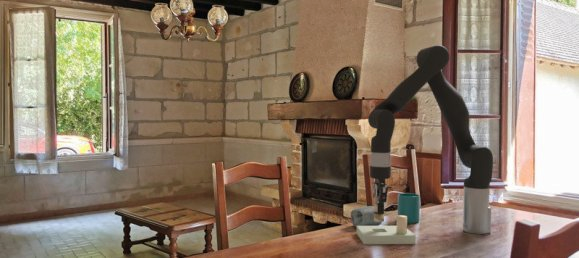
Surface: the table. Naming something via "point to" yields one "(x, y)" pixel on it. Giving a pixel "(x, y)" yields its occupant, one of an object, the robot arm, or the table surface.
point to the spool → (364, 216)
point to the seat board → (387, 233)
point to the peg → (377, 216)
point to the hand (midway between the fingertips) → (379, 211)
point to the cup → (409, 206)
